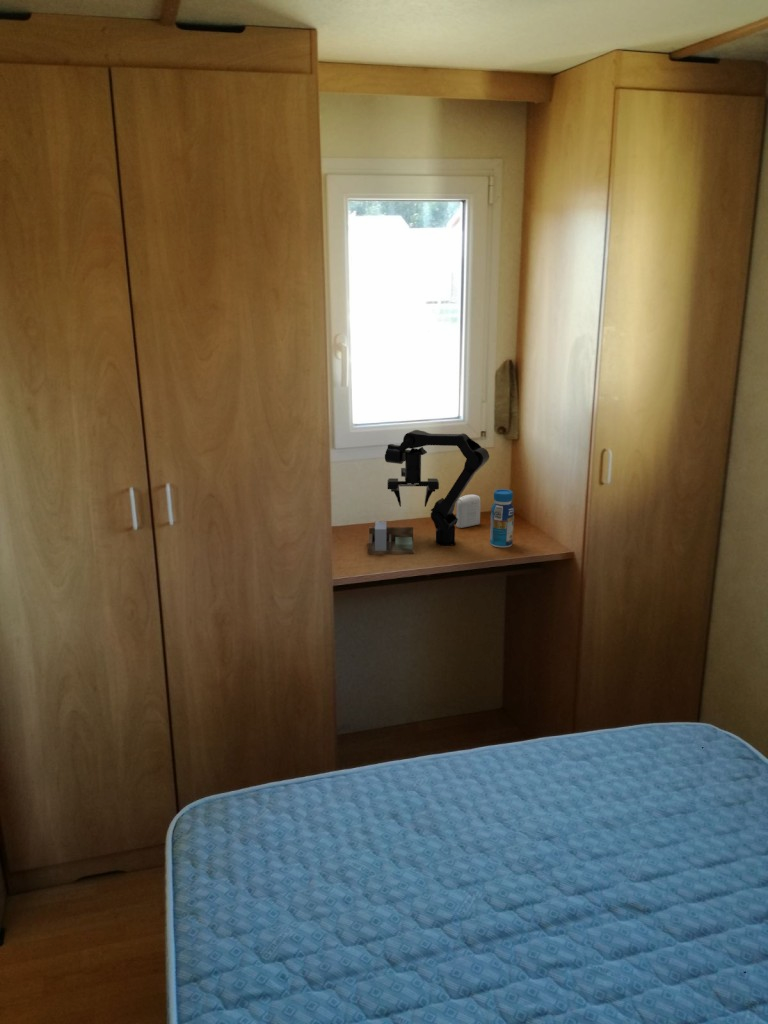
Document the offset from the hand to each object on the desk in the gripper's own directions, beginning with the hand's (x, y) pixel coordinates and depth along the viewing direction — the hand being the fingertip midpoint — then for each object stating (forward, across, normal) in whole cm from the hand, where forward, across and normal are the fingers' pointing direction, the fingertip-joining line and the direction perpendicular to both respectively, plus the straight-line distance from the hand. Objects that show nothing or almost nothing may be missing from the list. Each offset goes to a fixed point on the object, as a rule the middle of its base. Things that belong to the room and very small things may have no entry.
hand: (412, 506), depth 290 cm
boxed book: (+11, +12, +13) cm, 21 cm away
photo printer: (+12, -22, -14) cm, 29 cm away
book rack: (+12, +8, +12) cm, 19 cm away
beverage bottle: (+12, -32, +8) cm, 35 cm away
